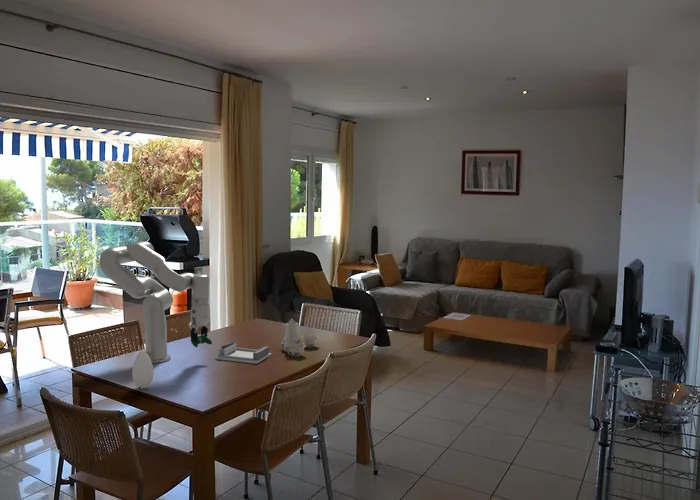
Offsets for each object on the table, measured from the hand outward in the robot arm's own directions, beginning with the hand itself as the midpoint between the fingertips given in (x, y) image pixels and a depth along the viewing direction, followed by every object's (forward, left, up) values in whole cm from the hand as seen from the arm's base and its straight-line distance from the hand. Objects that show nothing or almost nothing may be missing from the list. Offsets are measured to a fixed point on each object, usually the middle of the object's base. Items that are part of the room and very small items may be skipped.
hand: (199, 338), depth 261 cm
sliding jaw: (+13, -8, -10) cm, 18 cm away
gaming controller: (-1, -1, -3) cm, 3 cm away
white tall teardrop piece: (-40, 0, -11) cm, 41 cm away
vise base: (+13, -16, -11) cm, 23 cm away
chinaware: (+33, -35, -11) cm, 50 cm away
